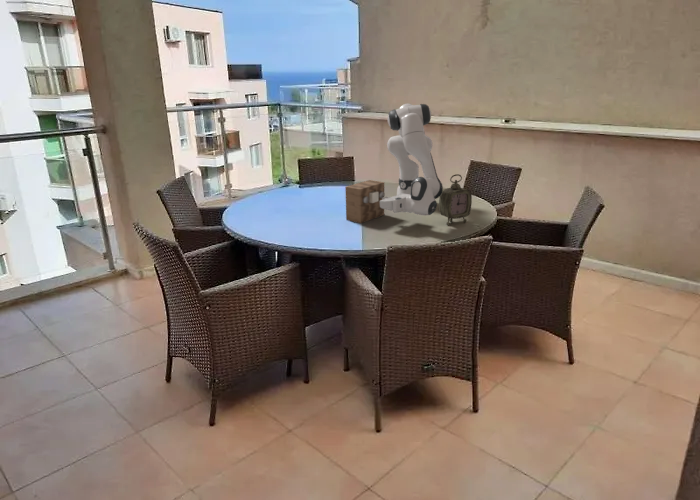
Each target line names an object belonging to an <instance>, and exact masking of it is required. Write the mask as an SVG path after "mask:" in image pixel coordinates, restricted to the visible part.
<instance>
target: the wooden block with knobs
mask: <svg viewBox="0 0 700 500" xmlns="http://www.w3.org/2000/svg"><path fill="white" fill-rule="evenodd" d="M373 191H376V192H378V201H377V202H374V203H369V192H373ZM385 195H386V194H385V182H384V181H379V180H373V179H368V180H365V181H362V182H361V181H360V182H358V183H354V184H350V185H347V186H345V212H346V213H345V215H346V217H345V218H346V221H350V222H354V223H359V224H363V223H365V222H369V221H371V220H373V219H376V218H379V217H382V216H384V215H385V209H382V208H381V207H380V200H382V198H384V197H386V196H385Z"/></svg>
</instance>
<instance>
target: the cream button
mask: <svg viewBox="0 0 700 500" xmlns="http://www.w3.org/2000/svg"><path fill="white" fill-rule="evenodd" d="M377 201H378V192H376V191H373V192H369V203H374V202H377Z"/></svg>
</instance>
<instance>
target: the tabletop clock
mask: <svg viewBox="0 0 700 500" xmlns="http://www.w3.org/2000/svg"><path fill="white" fill-rule="evenodd" d="M453 177H460V179H459V180H457V179H454V181H453V180H452V178H453ZM462 179H463V177H462V175H461V174H453V175H452V176H451V177H450V179H449V180H450V183H452V184H451V186H450V187H447V188H443V190H442V193H441V195H440V196H439V197H438V198H439V200H438V209H439V214H440V215H441V216H444V217H445V218H447V222H446V224H445V225H446V226H450V222H453V221H454V220H456V219H457V220H458V219H462V220H463V223H467V221H468V219H466V218H465V217H468V216H469V215H470V214H471V210H472V203H473V202H472V199H473V197H472V196H473V195H472V190H470V189H466V188H463V187H461V184H460V182H462Z"/></svg>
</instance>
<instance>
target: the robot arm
mask: <svg viewBox="0 0 700 500" xmlns="http://www.w3.org/2000/svg"><path fill="white" fill-rule="evenodd" d="M431 118H432V110H431V108H430V107H429V105H427V104H426V103H420V104H412V103H404V104H402V105H401V106H400V107H399V108H397V109H392V110H390V111H389V112H388V115H387V124H388V127H389V128H390V129H391V130H392V131H396V132H397V131H398V135H393V136H390V137H389V138H388V140H387V143H386V147H387V151H388V152H389V153H390V154H391V155H392V156H394V158H395V160H396V161H397V163H398V169H399V178H398V186H397V189H396V195H393V196H384V198H382V200H380V207H381V208H382V209H384V210H386V211H392V212H393V213H408V214H409V213H410V214H411V213H414V214H415V215H420V216H431V215H432V214H434V213H435V212H436V209H437V207H438V204H437V201H436V200H437V199H438V198H439V197H440V195H441V193H442V190H444V186H443V183H442V181H441V180H440V179H439V177H438V174H437V170H436V167H435V163H434V159H433V158H434V157H433V156H432V153H431V151H432V150H433V140H432V138H431V137H430V136H427V135H426V132H425V127H424V126H426V125H428V124H429V123H430V122H431ZM409 156H412V157H413V158H415V159H416V160H417V161H418V162H419V164H420V166H421V171H422V173H423V176H419V172H420V171H419V170H420V169H419V164H418V163H417V162H416V161H414V160H413V159H411V158H409Z"/></svg>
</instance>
